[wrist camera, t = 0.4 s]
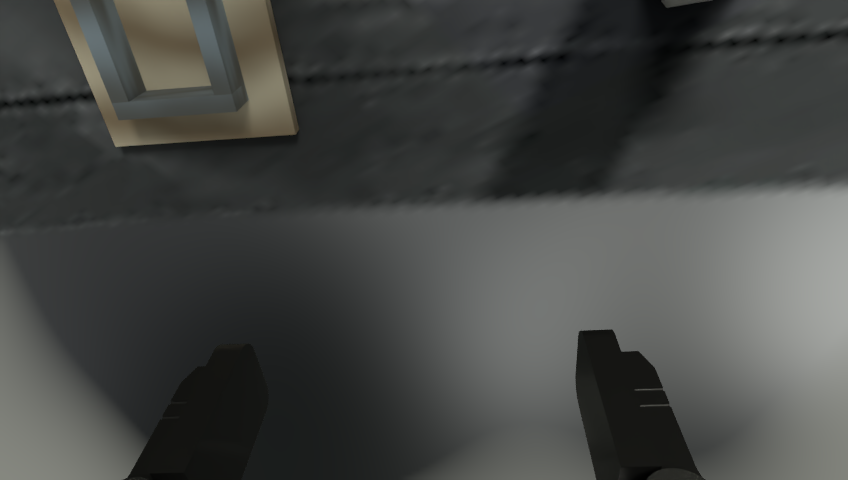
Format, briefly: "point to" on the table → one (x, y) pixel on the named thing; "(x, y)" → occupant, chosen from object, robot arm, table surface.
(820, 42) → the table surface
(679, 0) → the flask
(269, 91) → the keyhole guide
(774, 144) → the table surface
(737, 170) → the table surface
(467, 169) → the table surface
